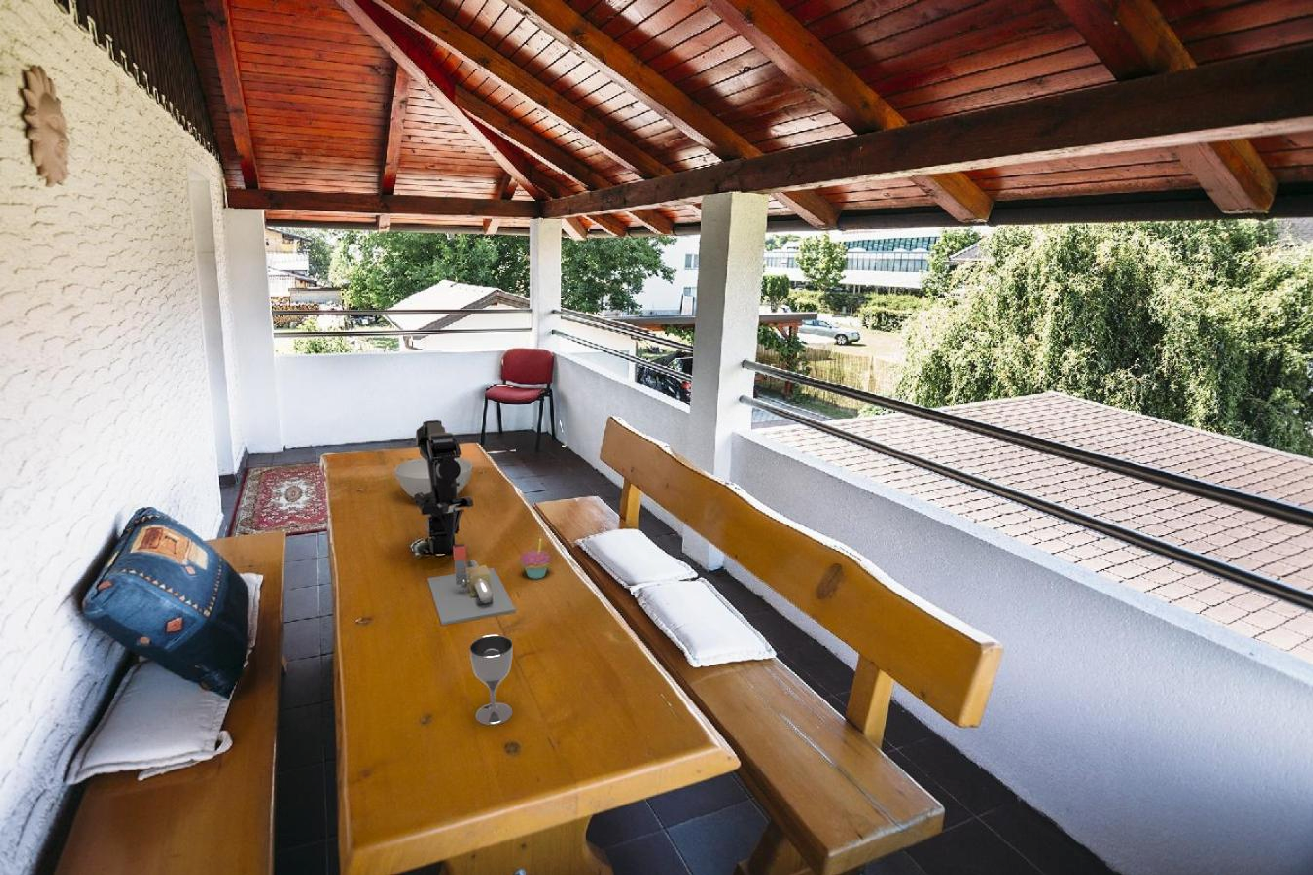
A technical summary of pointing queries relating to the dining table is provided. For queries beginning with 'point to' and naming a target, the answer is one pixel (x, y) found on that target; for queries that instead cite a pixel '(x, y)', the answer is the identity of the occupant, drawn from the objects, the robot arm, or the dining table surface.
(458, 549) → the valve lever
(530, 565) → the cupcake
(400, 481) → the decorative bowl
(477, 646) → the wine glass
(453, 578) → the mounting board
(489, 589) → the ball valve
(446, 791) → the dining table surface
